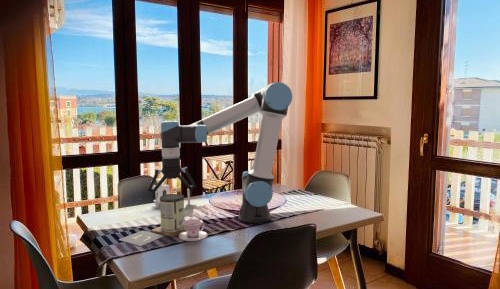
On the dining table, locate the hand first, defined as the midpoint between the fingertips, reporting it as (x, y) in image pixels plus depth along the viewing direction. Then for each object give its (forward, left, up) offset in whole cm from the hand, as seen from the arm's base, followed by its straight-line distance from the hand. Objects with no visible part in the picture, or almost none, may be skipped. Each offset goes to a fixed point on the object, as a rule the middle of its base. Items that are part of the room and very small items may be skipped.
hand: (173, 205), depth 161 cm
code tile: (+4, +14, -11) cm, 18 cm away
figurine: (+32, -25, -11) cm, 42 cm away
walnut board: (0, 0, -11) cm, 11 cm away
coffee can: (0, 0, -10) cm, 10 cm away
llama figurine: (+4, -13, -11) cm, 18 cm away
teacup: (-12, +1, -11) cm, 17 cm away
